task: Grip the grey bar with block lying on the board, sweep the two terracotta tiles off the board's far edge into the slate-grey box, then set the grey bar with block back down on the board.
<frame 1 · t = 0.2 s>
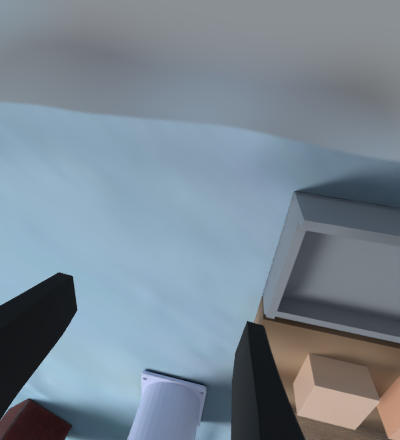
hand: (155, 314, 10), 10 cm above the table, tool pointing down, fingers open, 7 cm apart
grey bar with block: (339, 426, 25), point 2 cm above the table, touching board
tile b: (327, 375, 22), point 2 cm above the table, touching board
brown rectangular bottle: (37, 417, 45), on the table
board: (351, 371, 24), on the table
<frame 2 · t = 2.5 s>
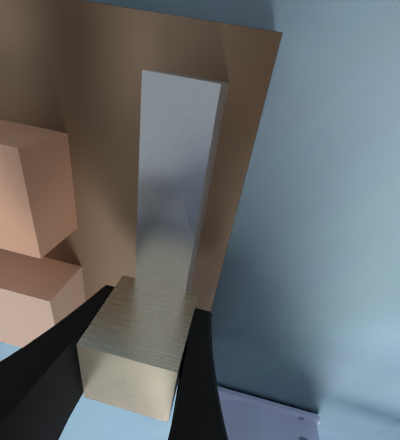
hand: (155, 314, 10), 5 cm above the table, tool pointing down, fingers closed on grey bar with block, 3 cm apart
tile a: (26, 174, 12), point 2 cm above the table, touching board
grey bar with block: (173, 271, 13), point 2 cm above the table, touching board, gripper
tile b: (49, 286, 15), point 2 cm above the table, touching board
board: (104, 224, 15), on the table
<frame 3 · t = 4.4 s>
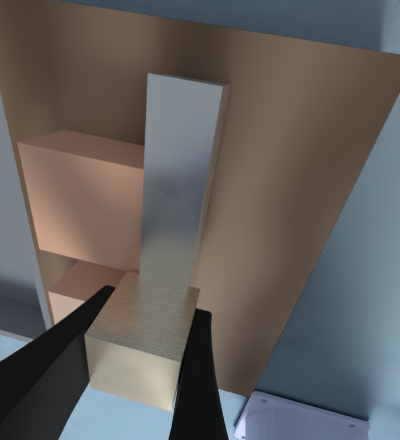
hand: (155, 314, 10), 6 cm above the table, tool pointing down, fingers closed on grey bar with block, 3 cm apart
tile a: (116, 190, 12), point 2 cm above the table, touching board
grey bar with block: (176, 268, 13), point 3 cm above the table, touching gripper
tile b: (118, 297, 15), point 3 cm above the table, touching board
board: (172, 235, 15), on the table
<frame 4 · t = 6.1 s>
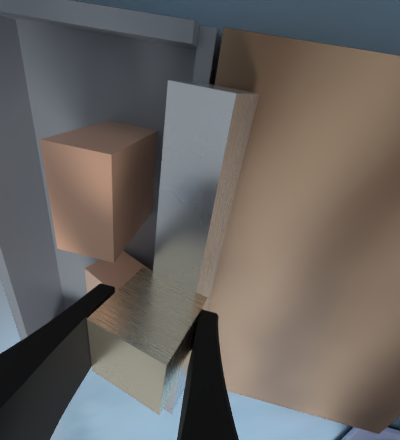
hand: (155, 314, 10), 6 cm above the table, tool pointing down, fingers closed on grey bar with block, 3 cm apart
tile a: (137, 191, 11), point 3 cm above the table, tilted 90°, touching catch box
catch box: (116, 222, 16), on the table
grey bar with block: (195, 273, 13), point 3 cm above the table, tilted 14°, touching board, gripper, tile b
tile b: (144, 294, 16), point 1 cm above the table, tilted 26°, touching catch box, grey bar with block
board: (317, 269, 15), on the table
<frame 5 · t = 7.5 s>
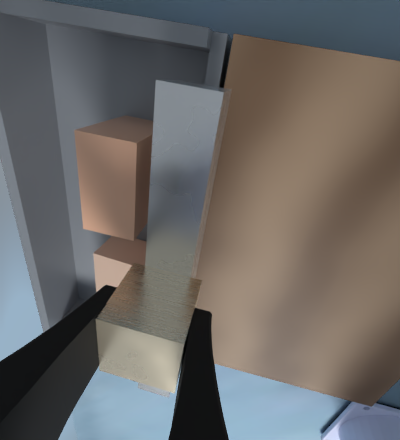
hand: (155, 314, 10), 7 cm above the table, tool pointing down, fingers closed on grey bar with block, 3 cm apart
tile a: (153, 178, 13), point 3 cm above the table, tilted 90°, touching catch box
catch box: (129, 209, 17), on the table
grey bar with block: (179, 262, 14), point 4 cm above the table, touching gripper
tile b: (144, 266, 18), point 1 cm above the table, touching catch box
board: (315, 252, 16), on the table
when the fingers open (6 cm above the table, at t = 8.9 s): grey bar with block stays where it is, resting on board.
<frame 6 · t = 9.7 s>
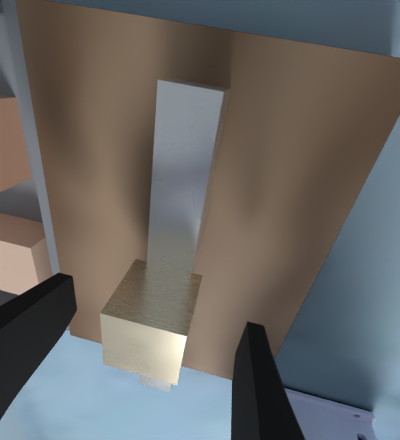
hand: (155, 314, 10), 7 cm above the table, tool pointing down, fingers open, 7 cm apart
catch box: (8, 189, 17), on the table
grey bar with block: (179, 258, 14), point 2 cm above the table, touching board
tile b: (33, 246, 18), resting on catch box
board: (186, 230, 16), on the table
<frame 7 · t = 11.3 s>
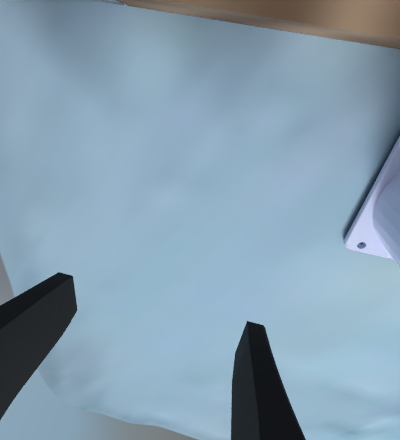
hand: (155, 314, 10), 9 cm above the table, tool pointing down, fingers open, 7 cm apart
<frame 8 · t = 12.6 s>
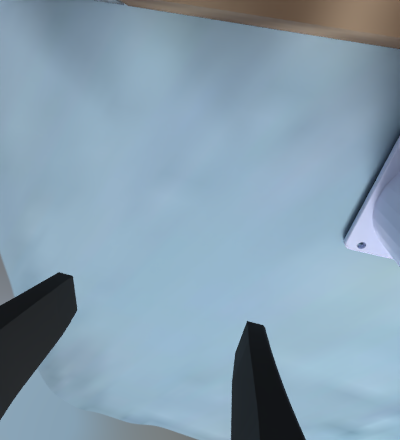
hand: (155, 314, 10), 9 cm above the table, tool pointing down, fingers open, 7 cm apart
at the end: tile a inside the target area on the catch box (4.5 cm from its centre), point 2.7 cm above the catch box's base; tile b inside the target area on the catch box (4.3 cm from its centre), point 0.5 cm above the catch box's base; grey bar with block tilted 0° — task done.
